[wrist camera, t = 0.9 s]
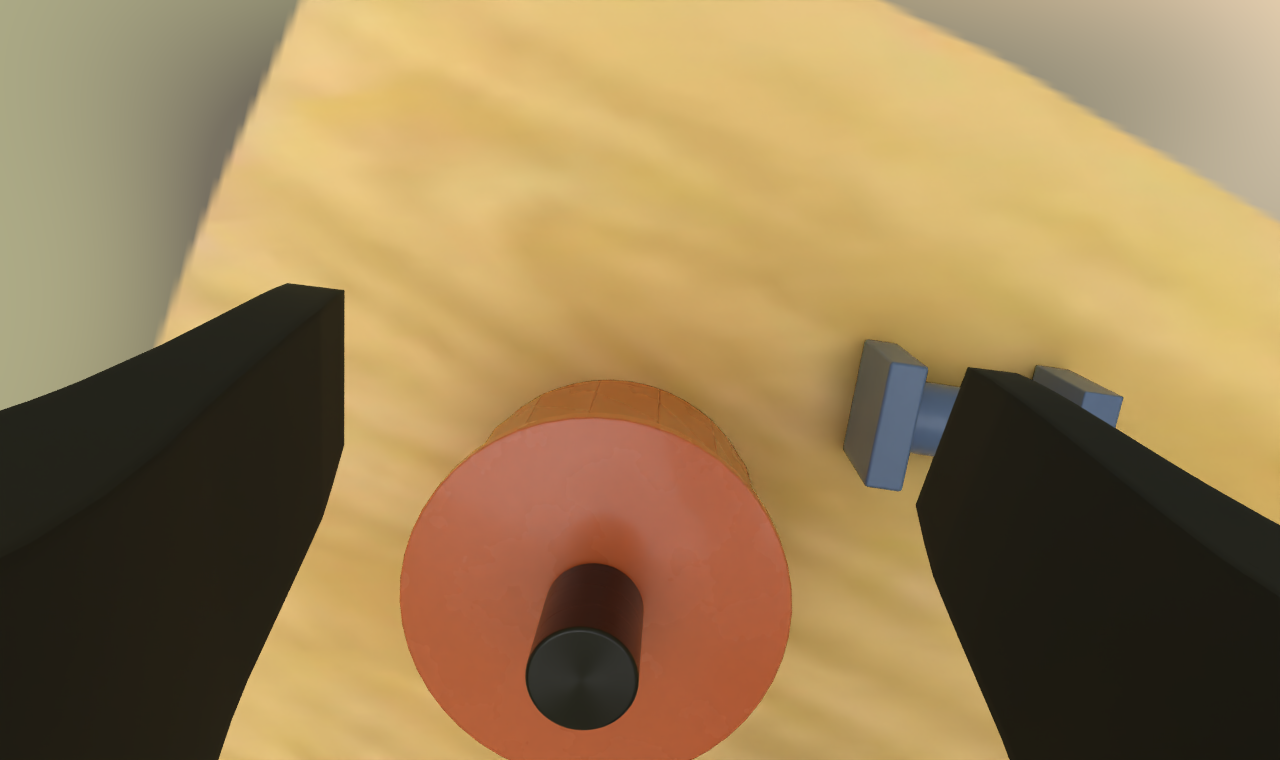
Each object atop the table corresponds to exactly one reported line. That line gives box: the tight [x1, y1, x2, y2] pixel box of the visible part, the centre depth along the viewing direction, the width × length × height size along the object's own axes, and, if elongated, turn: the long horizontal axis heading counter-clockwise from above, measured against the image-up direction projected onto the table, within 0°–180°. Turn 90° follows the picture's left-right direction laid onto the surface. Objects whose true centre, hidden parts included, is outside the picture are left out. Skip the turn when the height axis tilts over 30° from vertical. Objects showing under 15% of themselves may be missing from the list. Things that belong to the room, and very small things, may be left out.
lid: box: [400, 412, 792, 760], centre depth 22 cm, size 10×10×4 cm
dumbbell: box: [843, 340, 1123, 491], centre depth 26 cm, size 6×3×3 cm, turn 81°
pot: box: [486, 380, 751, 487], centre depth 26 cm, size 9×9×5 cm
